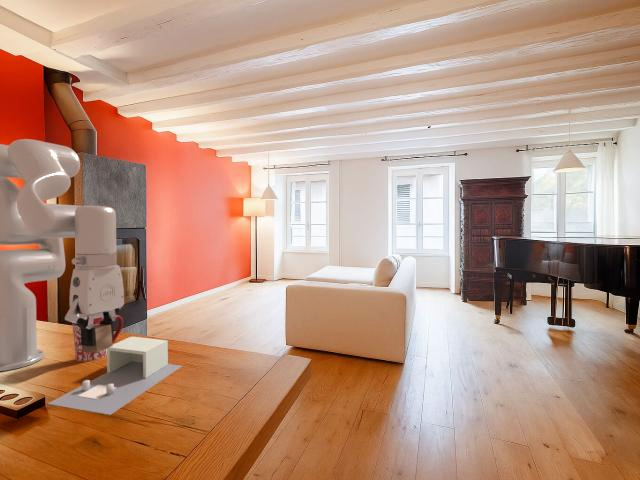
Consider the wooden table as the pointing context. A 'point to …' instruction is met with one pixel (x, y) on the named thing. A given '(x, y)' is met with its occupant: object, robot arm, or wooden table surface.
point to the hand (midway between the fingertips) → (97, 340)
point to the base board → (113, 389)
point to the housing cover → (138, 354)
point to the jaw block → (100, 339)
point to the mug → (78, 347)
